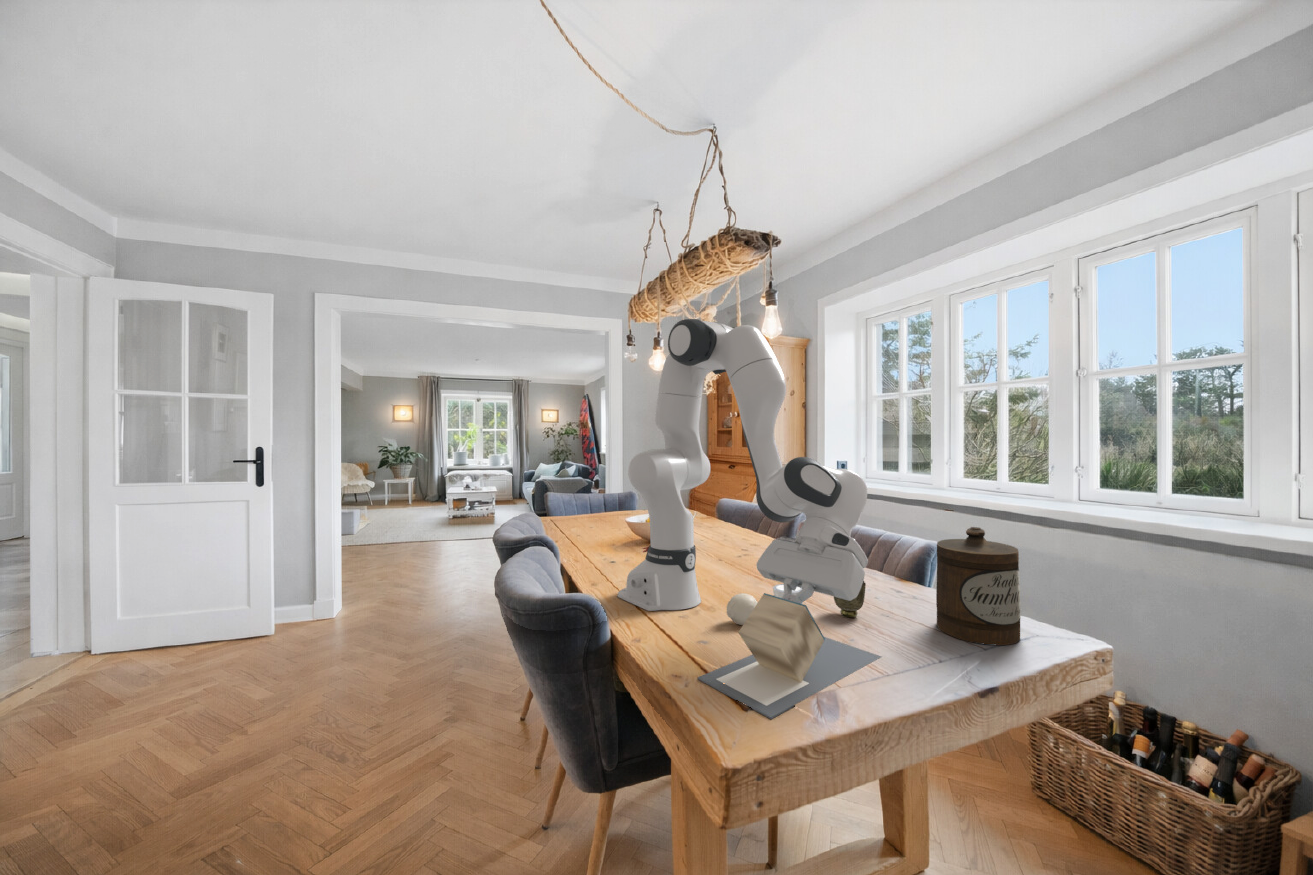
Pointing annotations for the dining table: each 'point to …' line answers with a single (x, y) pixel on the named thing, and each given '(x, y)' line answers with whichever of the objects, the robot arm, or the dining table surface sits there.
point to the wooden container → (978, 589)
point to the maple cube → (782, 636)
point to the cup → (851, 604)
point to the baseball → (741, 607)
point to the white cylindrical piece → (779, 590)
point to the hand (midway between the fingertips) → (789, 605)
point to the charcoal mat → (786, 678)
